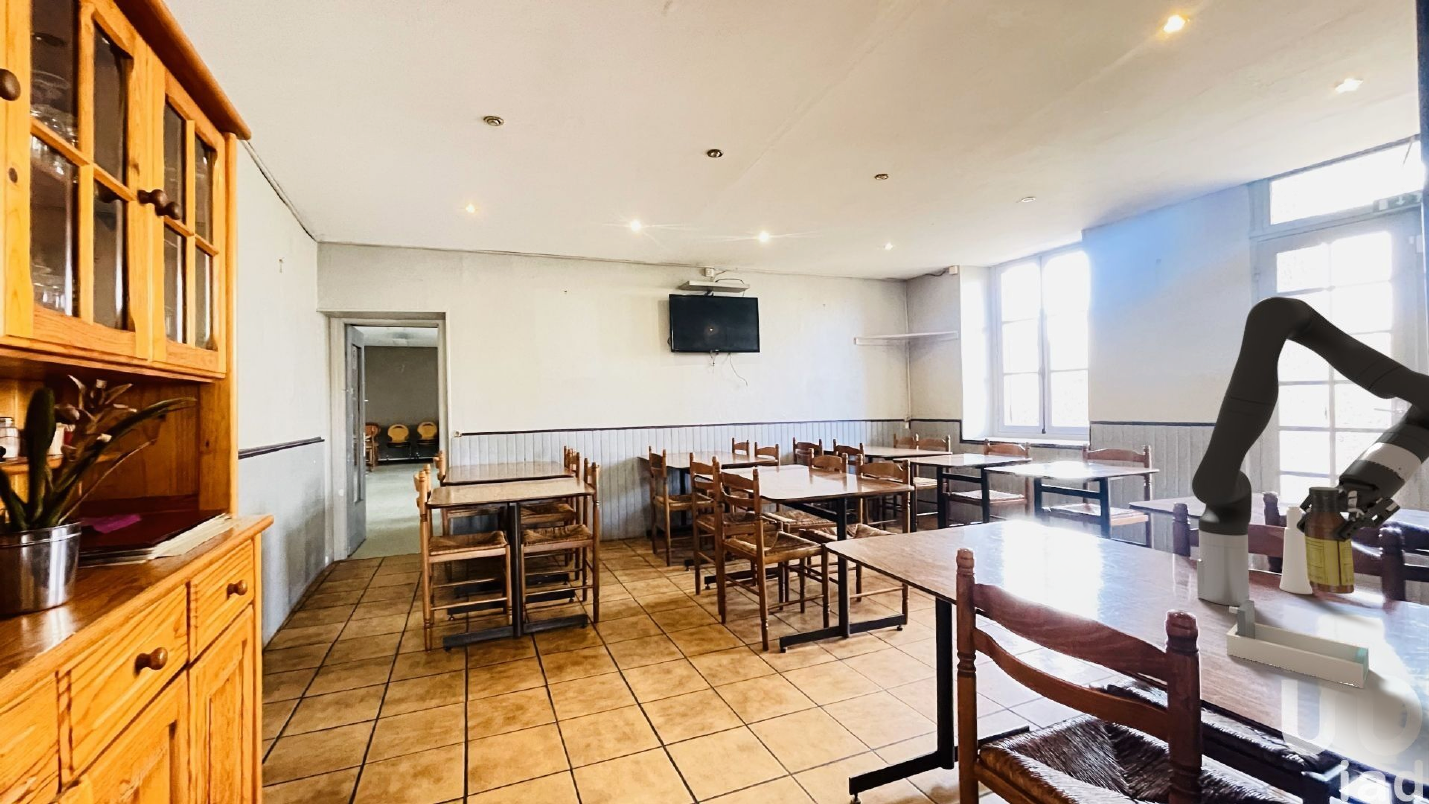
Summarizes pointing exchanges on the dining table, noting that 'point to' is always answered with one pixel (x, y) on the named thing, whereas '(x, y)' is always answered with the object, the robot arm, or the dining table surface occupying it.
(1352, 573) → the sauce bottle
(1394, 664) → the dining table surface
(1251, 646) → the pusher lane
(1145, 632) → the dining table surface
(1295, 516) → the cosmetic bottle
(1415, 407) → the robot arm
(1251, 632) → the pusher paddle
